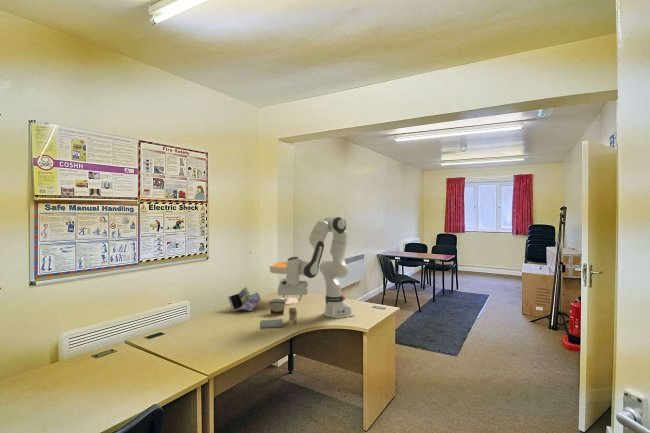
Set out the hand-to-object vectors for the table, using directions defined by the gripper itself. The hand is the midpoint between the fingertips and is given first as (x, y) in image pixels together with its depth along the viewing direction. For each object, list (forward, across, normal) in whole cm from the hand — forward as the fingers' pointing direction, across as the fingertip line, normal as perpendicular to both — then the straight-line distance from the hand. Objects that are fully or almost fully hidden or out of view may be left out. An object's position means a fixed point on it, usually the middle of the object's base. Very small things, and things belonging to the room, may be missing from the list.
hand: (292, 301), depth 225 cm
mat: (+15, +13, +1) cm, 20 cm away
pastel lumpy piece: (+15, +32, -37) cm, 52 cm away
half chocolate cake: (+15, +8, -23) cm, 29 cm away
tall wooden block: (+15, -1, 0) cm, 15 cm away
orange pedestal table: (+14, -1, -55) cm, 57 cm away
